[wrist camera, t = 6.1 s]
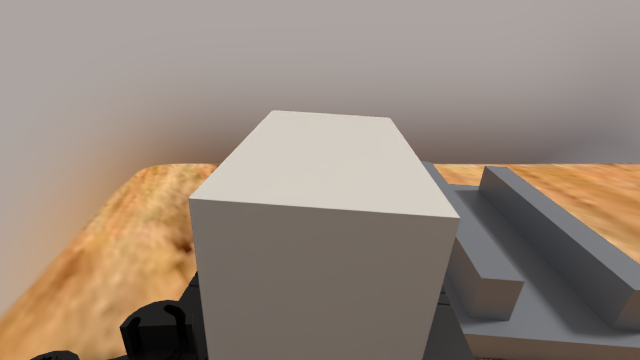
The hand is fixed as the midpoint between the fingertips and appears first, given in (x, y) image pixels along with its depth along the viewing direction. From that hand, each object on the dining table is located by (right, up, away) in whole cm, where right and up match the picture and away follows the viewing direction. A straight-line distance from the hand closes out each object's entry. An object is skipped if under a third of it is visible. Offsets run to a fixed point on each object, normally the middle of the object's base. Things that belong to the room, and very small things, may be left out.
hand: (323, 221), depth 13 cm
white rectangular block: (-1, -9, -2) cm, 9 cm away
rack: (+12, -4, +11) cm, 17 cm away
